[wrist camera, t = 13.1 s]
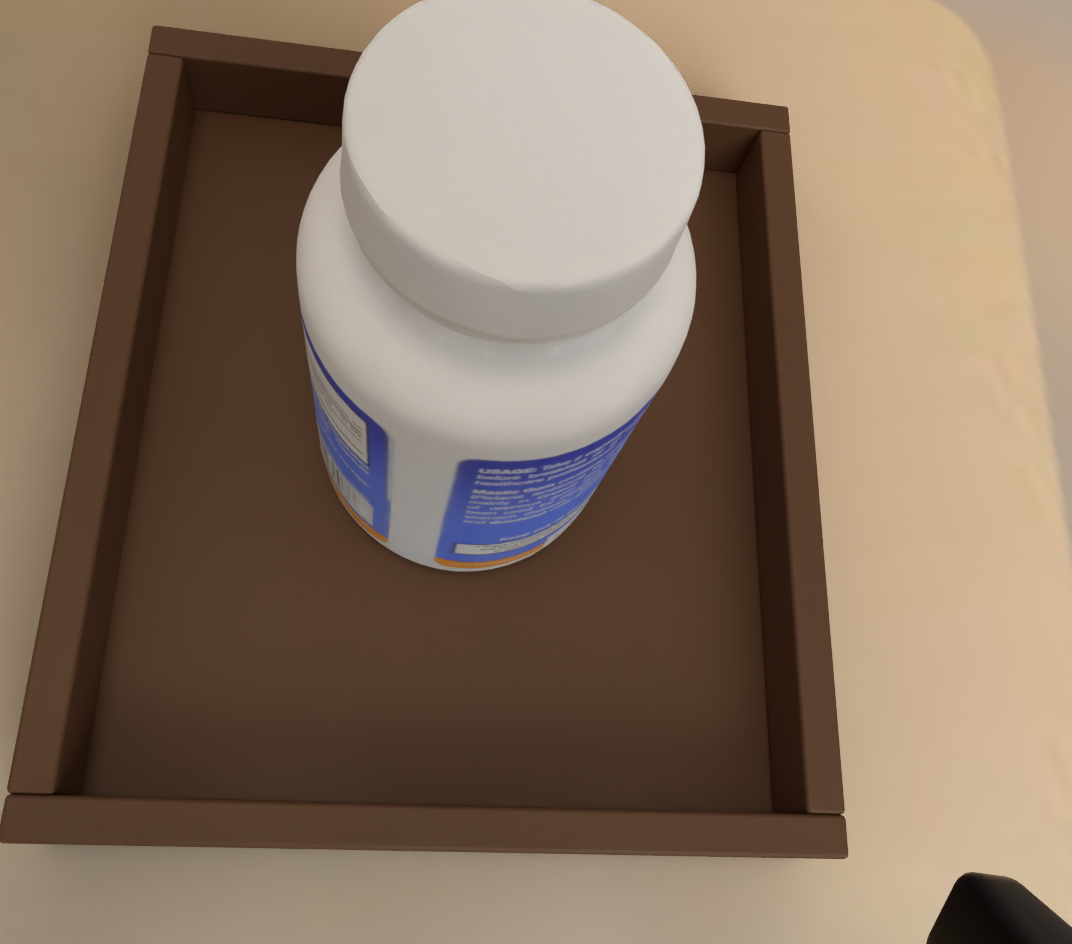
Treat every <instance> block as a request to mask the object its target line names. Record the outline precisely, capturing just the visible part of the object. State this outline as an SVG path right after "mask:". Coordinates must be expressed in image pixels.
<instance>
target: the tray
mask: <svg viewBox="0 0 1072 944" xmlns="http://www.w3.org/2000/svg"><path fill="white" fill-rule="evenodd" d="M148 52H149V55H148V57H147V62H146V67H145V72H144V77H143V83H142V88H141V93H140V98H139V103H138V109H137V114H136V119H135V124H134V130H133V135H132V140H131V145H130V150H129V156H128V161H127V166H126V171H125V176H124V182H123V187H122V192H121V197H120V203H119V208H118V213H117V218H116V223H115V229H114V234H113V239H112V244H111V249H110V255H109V260H108V265H107V270H106V276H105V281H104V286H103V291H102V296H101V302H100V307H99V312H98V317H97V322H96V328H95V333H94V338H93V343H92V349H91V354H90V359H89V364H88V369H87V375H86V380H85V385H84V390H83V395H82V401H81V406H80V411H79V416H78V422H77V427H76V432H75V437H74V442H73V448H72V453H71V458H70V463H69V468H68V474H67V479H66V484H65V489H64V495H63V500H62V505H61V510H60V515H59V521H58V526H57V531H56V536H55V541H54V547H53V552H52V557H51V562H50V568H49V573H48V578H47V583H46V588H45V594H44V599H43V604H42V609H41V614H40V620H39V625H38V630H37V635H36V641H35V646H34V651H33V656H32V661H31V667H30V672H29V677H28V682H27V688H26V693H25V698H24V703H23V708H22V714H21V719H20V724H19V729H18V734H17V740H16V745H15V750H14V755H13V761H12V766H11V771H10V776H9V781H8V787H7V789H8V792H9V793H11V794H10V795H8V796H7V797H6V799H5V803H4V808H3V813H2V818H1V823H0V842H1V843H19V844H72V845H125V846H178V847H231V848H285V849H338V850H391V851H444V852H497V853H550V854H604V855H657V856H710V857H763V858H816V859H845V858H847V857H848V845H847V833H846V820H845V817H844V816H842V815H840V814H843V813H844V810H845V809H844V796H843V784H842V772H841V760H840V747H839V735H838V723H837V710H836V698H835V686H834V673H833V661H832V649H831V636H830V624H829V612H828V599H827V587H826V575H825V563H824V550H823V538H822V526H821V513H820V501H819V489H818V476H817V464H816V452H815V439H814V427H813V415H812V403H811V390H810V378H809V366H808V353H807V341H806V329H805V316H804V304H803V292H802V279H801V267H800V255H799V242H798V230H797V218H796V206H795V193H794V181H793V169H792V156H791V144H790V135H789V132H790V127H789V114H788V108H787V107H783V106H775V105H768V104H760V103H752V102H744V101H736V100H729V99H721V98H713V97H705V96H698V95H692V97H693V99H694V102H695V104H696V106H697V109H698V113H699V117H700V120H701V124H702V128H703V135H704V143H705V162H704V172H703V179H702V185H701V188H700V192H699V196H698V199H697V201H696V204H695V206H694V209H693V211H692V213H691V216H690V218H689V221H688V223H687V226H688V229H689V232H690V235H691V240H692V245H693V248H694V255H695V264H696V296H695V305H694V310H693V315H692V320H691V323H690V326H689V330H688V333H687V336H686V338H685V341H684V343H683V346H682V348H681V350H680V353H679V355H678V357H677V359H676V361H675V363H674V365H673V367H672V369H671V371H670V372H669V374H668V376H667V378H666V379H665V381H664V383H663V384H662V386H661V388H660V389H659V391H658V392H657V394H656V395H655V397H654V398H653V400H652V401H651V403H650V405H649V406H648V408H647V409H646V411H645V412H644V414H643V415H642V417H641V418H640V420H639V421H638V423H637V425H636V426H635V428H634V429H633V431H632V432H631V434H630V436H629V437H628V439H627V440H626V442H625V444H624V445H623V447H622V449H621V450H620V452H619V453H618V455H617V456H616V458H615V459H614V461H613V463H612V464H611V466H610V467H609V469H608V471H607V472H606V474H605V475H604V477H603V479H602V480H601V482H600V483H599V485H598V486H597V488H596V490H595V492H594V493H593V494H592V496H591V497H590V499H589V501H588V502H587V504H586V505H585V506H584V508H583V509H582V511H581V512H580V513H579V515H578V516H577V517H576V518H575V520H574V521H573V522H572V523H571V524H570V525H569V526H568V527H567V528H566V529H565V530H564V531H563V532H562V533H561V534H560V535H559V536H558V537H557V538H556V539H554V540H553V541H552V542H551V543H550V544H549V545H547V546H545V547H544V548H542V549H541V550H539V551H538V552H536V553H534V554H533V555H531V556H529V557H527V558H524V559H522V560H520V561H517V562H515V563H512V564H509V565H506V566H502V567H499V568H494V569H489V570H483V571H449V570H442V569H436V568H432V567H429V566H425V565H422V564H419V563H416V562H413V561H411V560H409V559H406V558H404V557H402V556H400V555H398V554H396V553H394V552H393V551H391V550H390V549H388V548H387V547H385V546H384V545H382V544H381V543H379V542H378V541H377V540H375V539H374V538H373V537H372V536H370V535H369V534H368V533H367V532H366V531H365V530H364V529H363V528H362V527H361V526H360V525H359V524H358V523H357V522H356V521H355V520H354V518H353V517H352V516H351V515H350V514H349V512H348V511H347V509H346V508H345V507H344V505H343V504H342V502H341V501H340V499H339V497H338V495H337V493H336V491H335V489H334V487H333V485H332V483H331V480H330V477H329V475H328V472H327V469H326V467H325V463H324V459H323V456H322V452H321V448H320V440H319V432H318V426H317V419H316V412H315V404H314V397H313V390H312V383H311V377H310V370H309V363H308V357H307V351H306V344H305V337H304V329H303V323H302V317H301V310H300V301H299V292H298V282H297V272H296V250H297V238H298V232H299V226H300V222H301V218H302V215H303V211H304V208H305V205H306V203H307V200H308V197H309V195H310V192H311V190H312V188H313V186H314V185H315V183H316V181H317V179H318V177H319V175H320V174H321V172H322V171H323V169H324V168H325V166H326V165H327V163H328V162H329V160H330V159H331V158H332V157H333V155H334V154H335V153H336V152H337V151H338V150H339V149H340V147H341V146H342V118H343V108H344V98H345V94H346V90H347V87H348V83H349V80H350V77H351V75H352V73H353V70H354V68H355V66H356V64H357V62H358V60H359V58H360V56H361V55H362V53H363V52H356V51H349V50H341V49H333V48H325V47H318V46H310V45H302V44H294V43H287V42H279V41H271V40H263V39H256V38H248V37H240V36H232V35H225V34H217V33H209V32H201V31H193V30H186V29H178V28H170V27H162V26H154V27H153V29H152V34H151V39H150V45H149V50H148Z"/></svg>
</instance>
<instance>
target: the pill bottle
mask: <svg viewBox="0 0 1072 944" xmlns="http://www.w3.org/2000/svg"><path fill="white" fill-rule="evenodd" d="M704 162H705V143H704V135H703V128H702V124H701V120H700V117H699V113H698V109H697V106H696V104H695V102H694V99H693V97H692V95H691V92H690V90H689V88H688V86H687V84H686V82H685V81H684V79H683V77H682V75H681V74H680V72H679V71H678V69H677V68H676V66H675V65H674V64H673V62H672V61H671V60H670V59H669V57H668V56H667V55H666V54H665V53H664V52H663V50H662V49H661V48H660V47H659V46H658V45H657V44H656V43H655V42H654V41H653V40H652V39H651V38H650V37H648V36H647V35H646V34H645V33H644V32H643V31H642V30H640V29H639V28H637V27H636V26H635V25H633V24H632V23H631V22H630V21H629V20H627V19H626V18H624V17H622V16H621V15H619V14H618V13H616V12H615V11H613V10H611V9H609V8H607V7H605V6H604V5H602V4H600V3H598V2H596V1H593V0H422V1H420V2H418V3H416V4H414V5H412V6H410V7H408V8H407V9H405V10H404V11H403V12H401V13H400V14H399V15H397V16H396V17H395V18H394V19H392V20H391V21H390V22H389V23H388V24H386V25H385V26H384V27H383V28H382V29H381V30H380V31H379V32H378V33H377V35H376V36H375V37H374V38H373V40H372V41H371V42H370V43H369V45H368V46H367V47H366V48H365V50H364V51H363V53H362V55H361V56H360V58H359V60H358V62H357V64H356V66H355V68H354V70H353V73H352V75H351V77H350V80H349V83H348V87H347V90H346V94H345V98H344V108H343V118H342V146H341V147H340V149H339V150H338V151H337V152H336V153H335V154H334V155H333V157H332V158H331V159H330V160H329V162H328V163H327V165H326V166H325V168H324V169H323V171H322V172H321V174H320V175H319V177H318V179H317V181H316V183H315V185H314V186H313V188H312V190H311V192H310V195H309V197H308V200H307V203H306V205H305V208H304V211H303V215H302V218H301V222H300V226H299V232H298V238H297V250H296V272H297V282H298V292H299V301H300V310H301V317H302V323H303V329H304V337H305V344H306V351H307V357H308V363H309V370H310V377H311V383H312V390H313V397H314V404H315V412H316V419H317V426H318V432H319V440H320V448H321V452H322V456H323V459H324V463H325V467H326V469H327V472H328V475H329V477H330V480H331V483H332V485H333V487H334V489H335V491H336V493H337V495H338V497H339V499H340V501H341V502H342V504H343V505H344V507H345V508H346V509H347V511H348V512H349V514H350V515H351V516H352V517H353V518H354V520H355V521H356V522H357V523H358V524H359V525H360V526H361V527H362V528H363V529H364V530H365V531H366V532H367V533H368V534H369V535H370V536H372V537H373V538H374V539H375V540H377V541H378V542H379V543H381V544H382V545H384V546H385V547H387V548H388V549H390V550H391V551H393V552H394V553H396V554H398V555H400V556H402V557H404V558H406V559H409V560H411V561H413V562H416V563H419V564H422V565H425V566H429V567H432V568H436V569H442V570H449V571H483V570H489V569H494V568H499V567H502V566H506V565H509V564H512V563H515V562H517V561H520V560H522V559H524V558H527V557H529V556H531V555H533V554H534V553H536V552H538V551H539V550H541V549H542V548H544V547H545V546H547V545H549V544H550V543H551V542H552V541H553V540H554V539H556V538H557V537H558V536H559V535H560V534H561V533H562V532H563V531H564V530H565V529H566V528H567V527H568V526H569V525H570V524H571V523H572V522H573V521H574V520H575V518H576V517H577V516H578V515H579V513H580V512H581V511H582V509H583V508H584V506H585V505H586V504H587V502H588V501H589V499H590V497H591V496H592V494H593V493H594V492H595V490H596V488H597V486H598V485H599V483H600V482H601V480H602V479H603V477H604V475H605V474H606V472H607V471H608V469H609V467H610V466H611V464H612V463H613V461H614V459H615V458H616V456H617V455H618V453H619V452H620V450H621V449H622V447H623V445H624V444H625V442H626V440H627V439H628V437H629V436H630V434H631V432H632V431H633V429H634V428H635V426H636V425H637V423H638V421H639V420H640V418H641V417H642V415H643V414H644V412H645V411H646V409H647V408H648V406H649V405H650V403H651V401H652V400H653V398H654V397H655V395H656V394H657V392H658V391H659V389H660V388H661V386H662V384H663V383H664V381H665V379H666V378H667V376H668V374H669V372H670V371H671V369H672V367H673V365H674V363H675V361H676V359H677V357H678V355H679V353H680V350H681V348H682V346H683V343H684V341H685V338H686V336H687V333H688V330H689V326H690V323H691V320H692V315H693V310H694V305H695V296H696V264H695V255H694V248H693V245H692V240H691V235H690V232H689V229H688V226H687V223H688V221H689V218H690V216H691V213H692V211H693V209H694V206H695V204H696V201H697V199H698V196H699V192H700V188H701V185H702V179H703V172H704Z"/></svg>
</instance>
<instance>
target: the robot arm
mask: <svg viewBox="0 0 1072 944" xmlns="http://www.w3.org/2000/svg"><path fill="white" fill-rule="evenodd" d="M926 944H1072V927H1071V926H1070V925H1068V924H1067V923H1066V922H1065V921H1064V920H1063V919H1061V918H1060V917H1059V916H1058V915H1057V914H1056V913H1054V912H1053V911H1052V910H1051V909H1050V908H1048V907H1047V906H1046V905H1045V904H1044V903H1043V902H1041V901H1040V900H1039V899H1038V898H1037V897H1036V896H1034V895H1033V894H1032V893H1031V892H1030V891H1029V890H1027V889H1026V888H1025V887H1024V886H1023V885H1021V884H1020V883H1019V882H1018V881H1016V880H1014V879H1011V878H1008V877H1005V876H997V875H990V874H983V873H975V872H970V873H965V874H964V875H962V876H961V877H960V878H958V880H957V881H956V883H955V884H954V886H953V888H952V890H951V892H950V894H949V896H948V898H947V900H946V902H945V904H944V906H943V908H942V910H941V912H940V914H939V916H938V918H937V920H936V922H935V924H934V926H933V928H932V930H931V932H930V934H929V936H928V939H927V943H926Z"/></svg>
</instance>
